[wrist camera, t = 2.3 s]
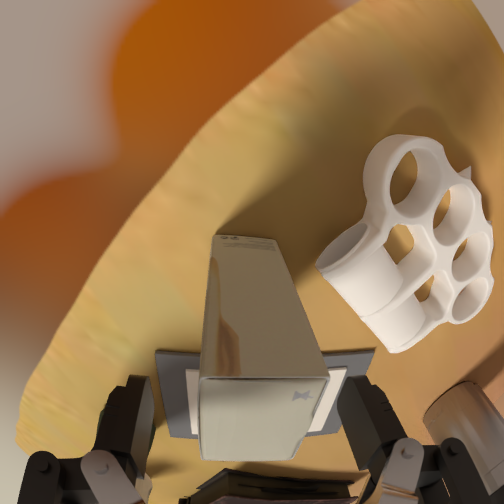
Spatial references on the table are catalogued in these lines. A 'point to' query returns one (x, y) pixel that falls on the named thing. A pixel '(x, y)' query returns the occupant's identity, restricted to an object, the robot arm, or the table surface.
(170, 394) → the notepad
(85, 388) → the table surface
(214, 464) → the table surface
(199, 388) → the skincare box
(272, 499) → the diary
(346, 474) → the table surface
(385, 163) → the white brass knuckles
